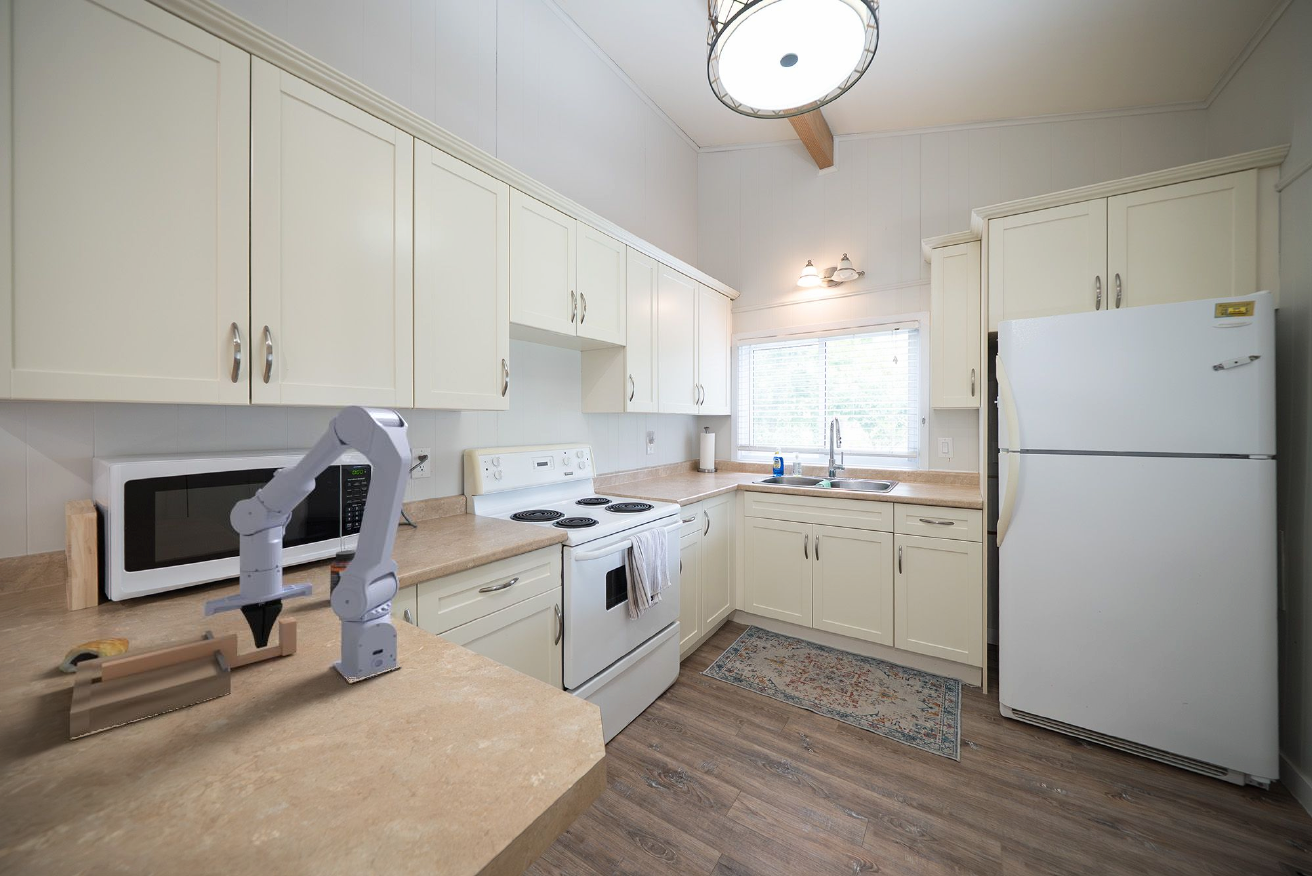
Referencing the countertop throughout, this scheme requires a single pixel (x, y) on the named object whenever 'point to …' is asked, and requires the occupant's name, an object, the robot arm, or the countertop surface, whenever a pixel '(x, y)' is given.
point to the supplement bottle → (339, 567)
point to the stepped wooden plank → (203, 653)
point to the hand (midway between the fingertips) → (261, 645)
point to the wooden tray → (144, 688)
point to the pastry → (93, 652)
